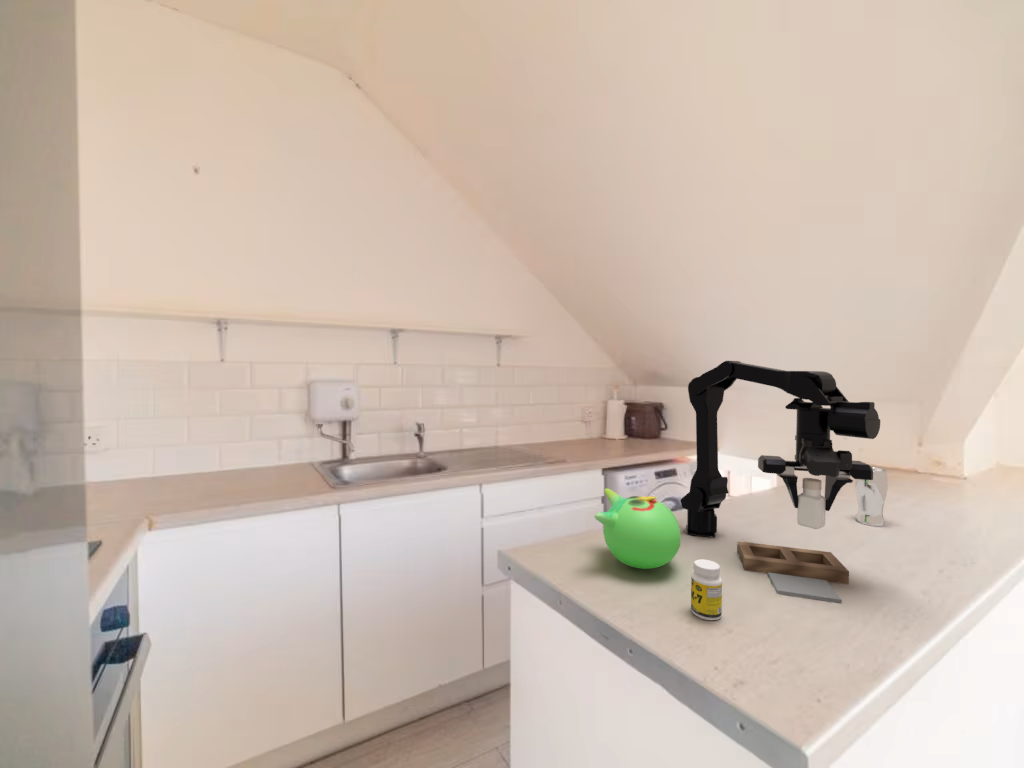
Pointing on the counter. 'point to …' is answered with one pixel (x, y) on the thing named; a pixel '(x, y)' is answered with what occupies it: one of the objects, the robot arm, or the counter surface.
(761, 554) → the wooden compartment tray
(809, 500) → the pepper shaker
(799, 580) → the rubber pad
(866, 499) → the beer glass
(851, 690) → the counter surface
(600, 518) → the toy bird
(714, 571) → the supplement bottle
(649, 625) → the counter surface
